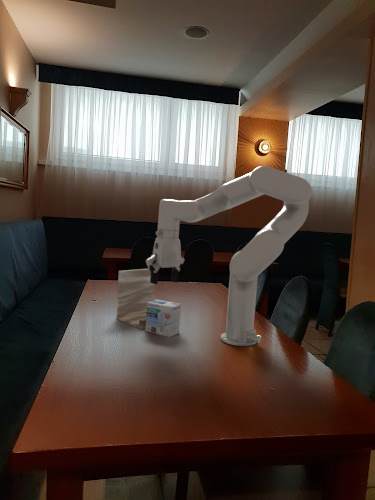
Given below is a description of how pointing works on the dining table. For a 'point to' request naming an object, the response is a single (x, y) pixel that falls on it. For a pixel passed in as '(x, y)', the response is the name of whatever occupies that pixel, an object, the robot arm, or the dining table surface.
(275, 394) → the dining table surface
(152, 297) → the board
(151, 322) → the light bulb box
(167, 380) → the dining table surface
